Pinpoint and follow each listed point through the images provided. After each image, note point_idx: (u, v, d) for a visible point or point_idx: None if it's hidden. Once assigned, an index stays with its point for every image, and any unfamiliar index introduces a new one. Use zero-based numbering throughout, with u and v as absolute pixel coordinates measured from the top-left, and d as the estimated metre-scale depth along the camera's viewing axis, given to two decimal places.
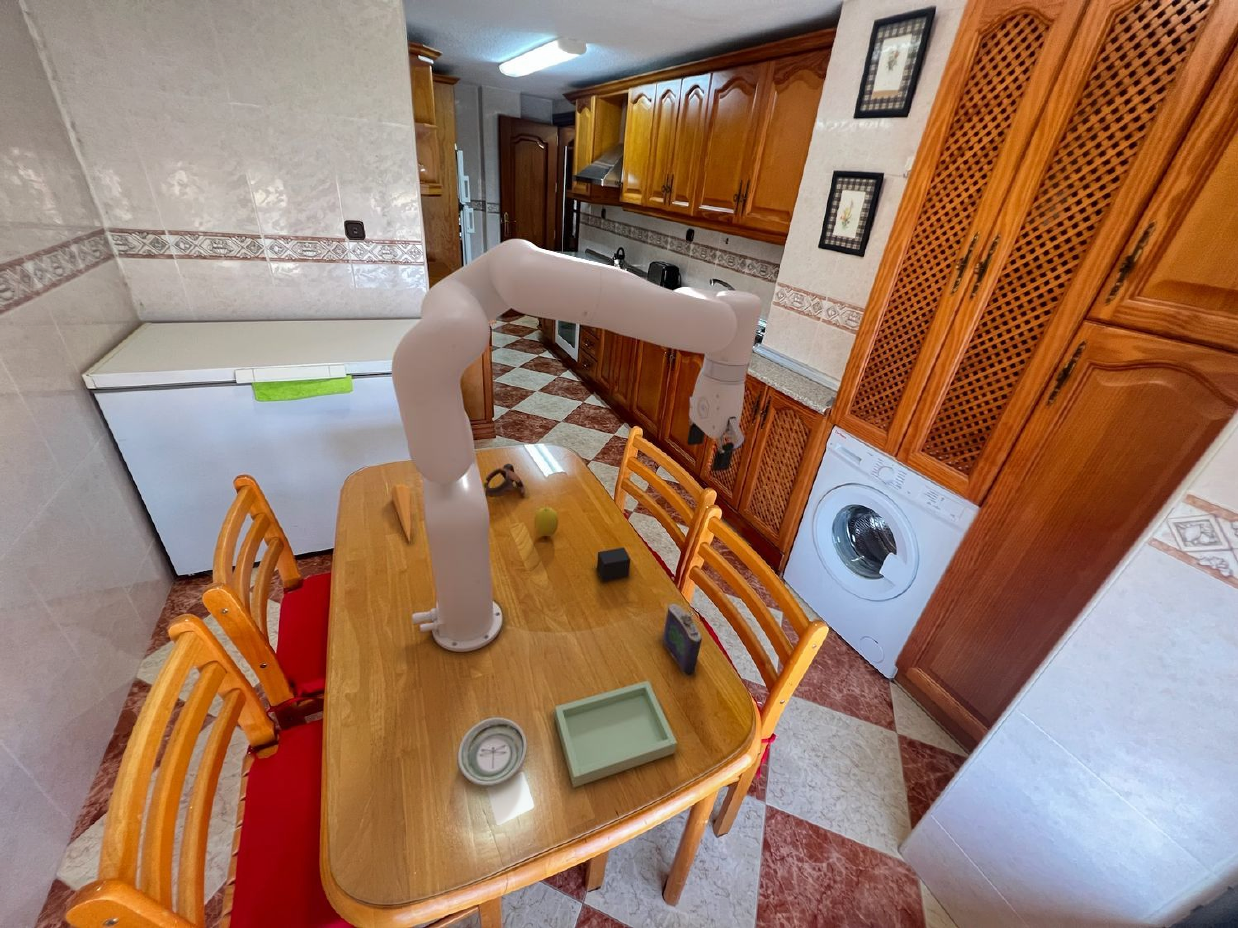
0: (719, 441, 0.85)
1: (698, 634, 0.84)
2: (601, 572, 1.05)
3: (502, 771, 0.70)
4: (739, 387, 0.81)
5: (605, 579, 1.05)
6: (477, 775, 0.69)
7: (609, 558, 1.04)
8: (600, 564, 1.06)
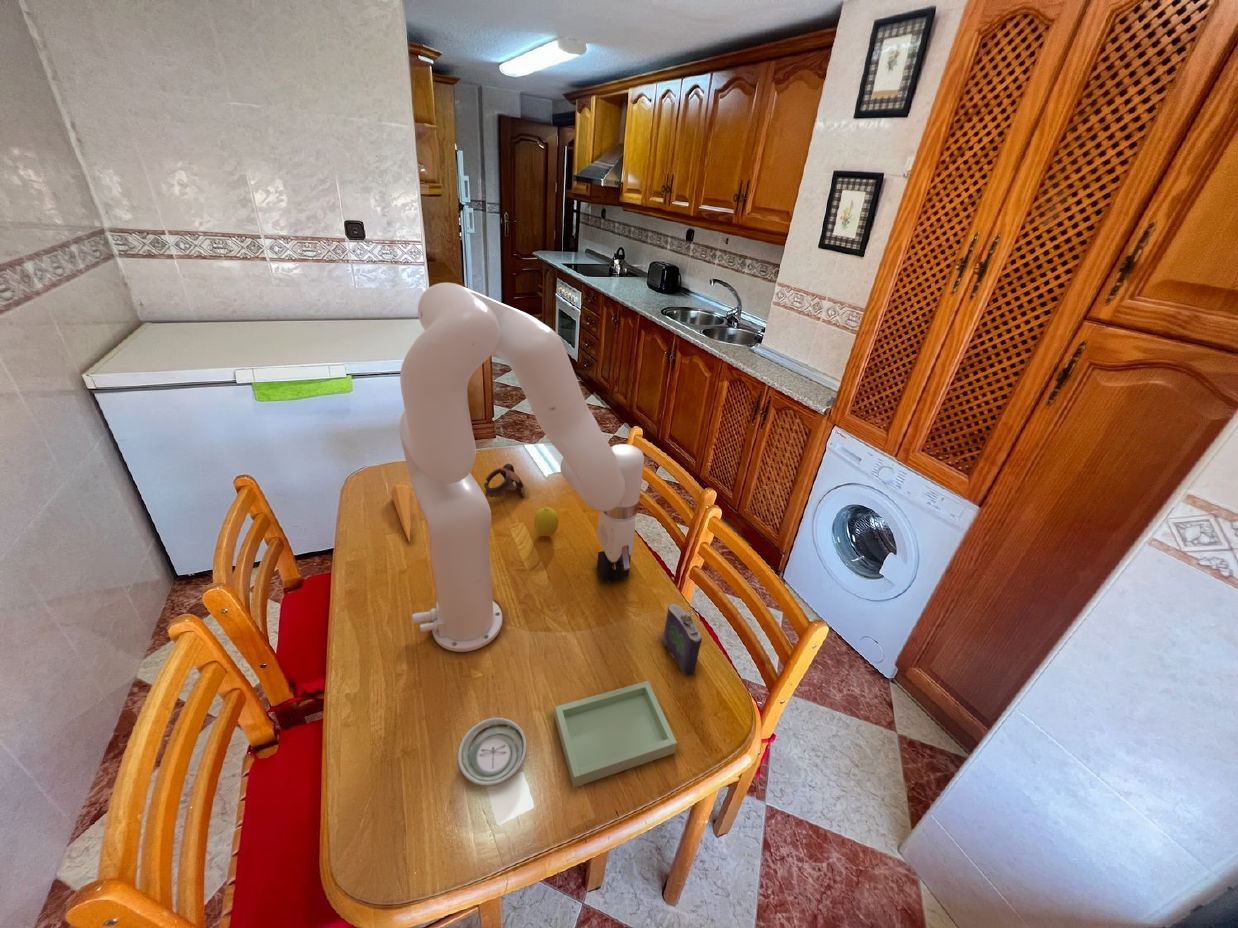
0: (613, 561, 1.02)
1: (698, 634, 0.84)
2: (601, 572, 1.05)
3: (502, 771, 0.70)
4: (629, 523, 0.96)
5: (605, 579, 1.05)
6: (477, 775, 0.69)
7: None
8: (600, 564, 1.06)
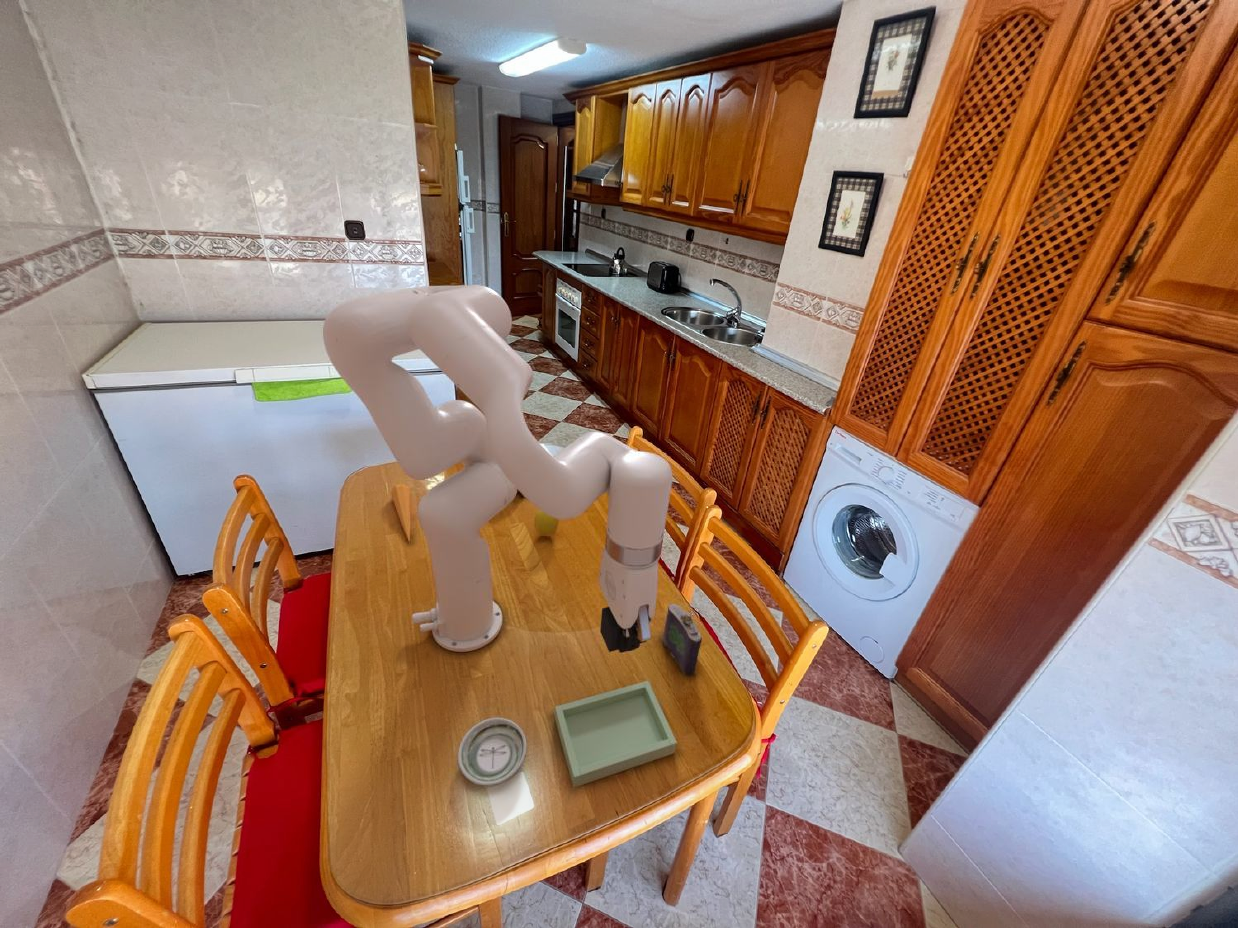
0: None
1: (698, 634, 0.84)
2: (607, 638, 0.72)
3: (502, 771, 0.70)
4: (650, 572, 0.63)
5: (613, 648, 0.72)
6: (477, 775, 0.69)
7: None
8: (605, 626, 0.72)
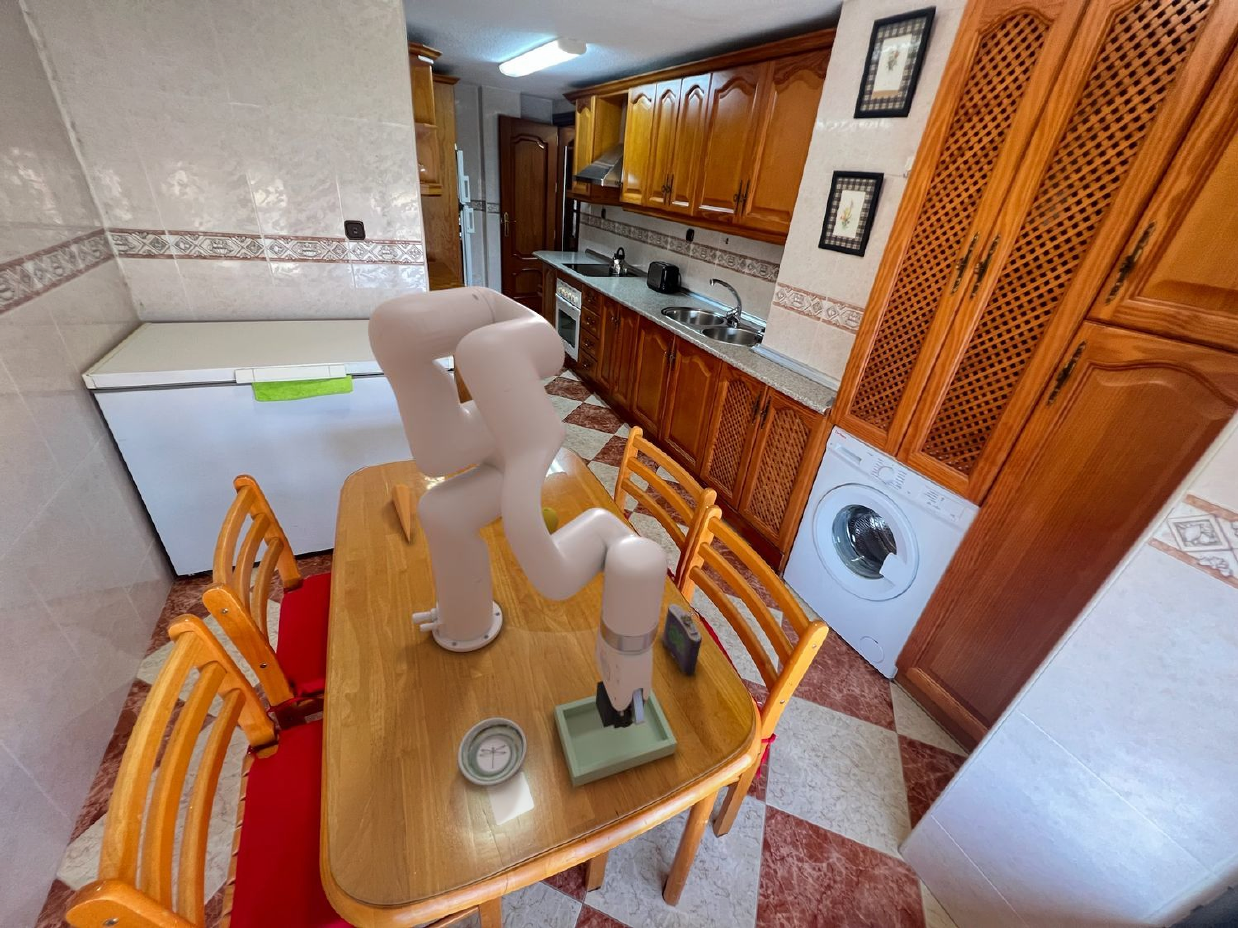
0: None
1: (698, 634, 0.84)
2: (602, 714, 0.71)
3: (502, 771, 0.70)
4: (644, 658, 0.62)
5: (608, 724, 0.71)
6: (477, 775, 0.69)
7: None
8: (600, 701, 0.71)
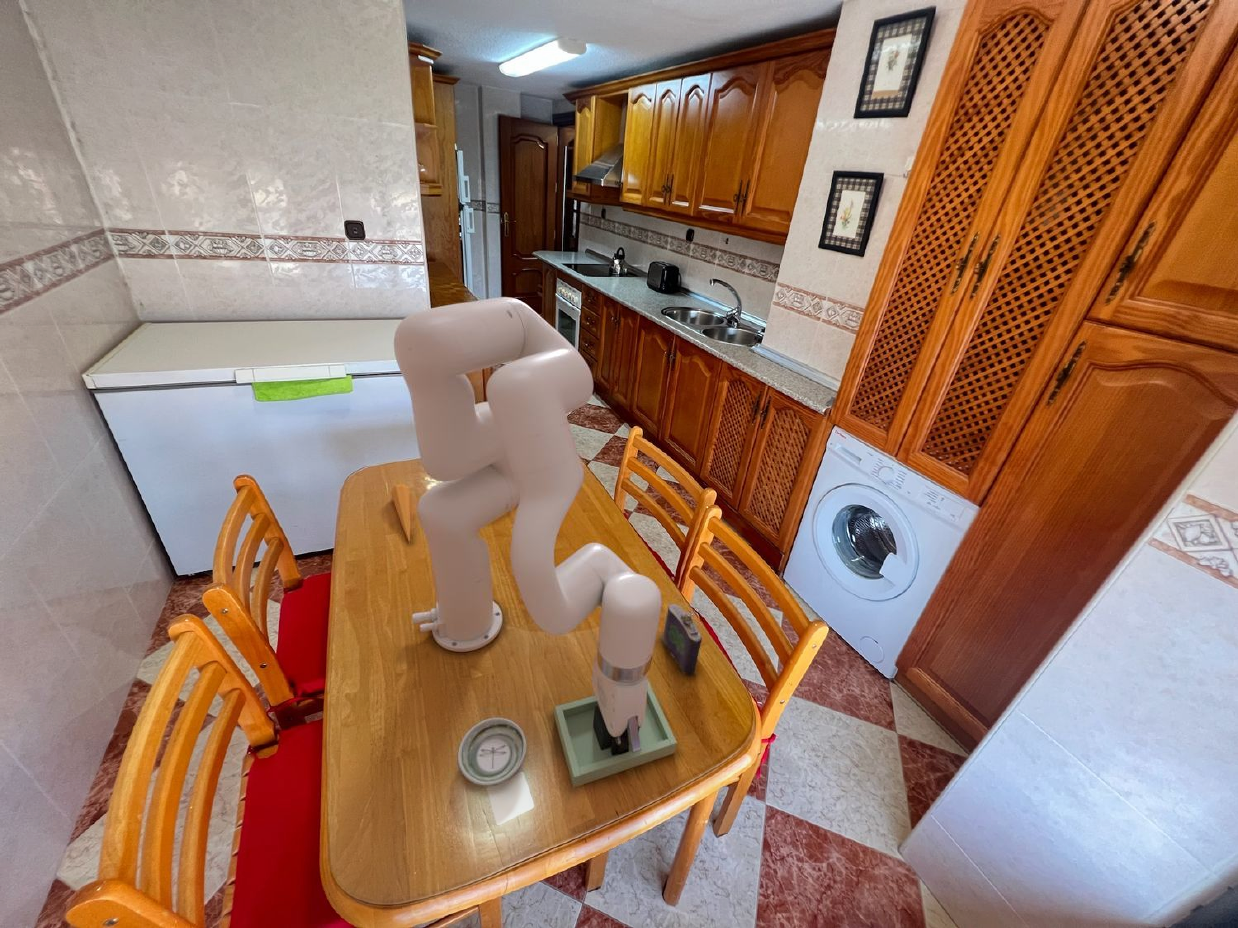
0: None
1: (698, 634, 0.84)
2: (599, 737, 0.74)
3: (502, 771, 0.70)
4: (639, 688, 0.65)
5: (605, 747, 0.74)
6: (477, 775, 0.69)
7: None
8: (597, 725, 0.74)
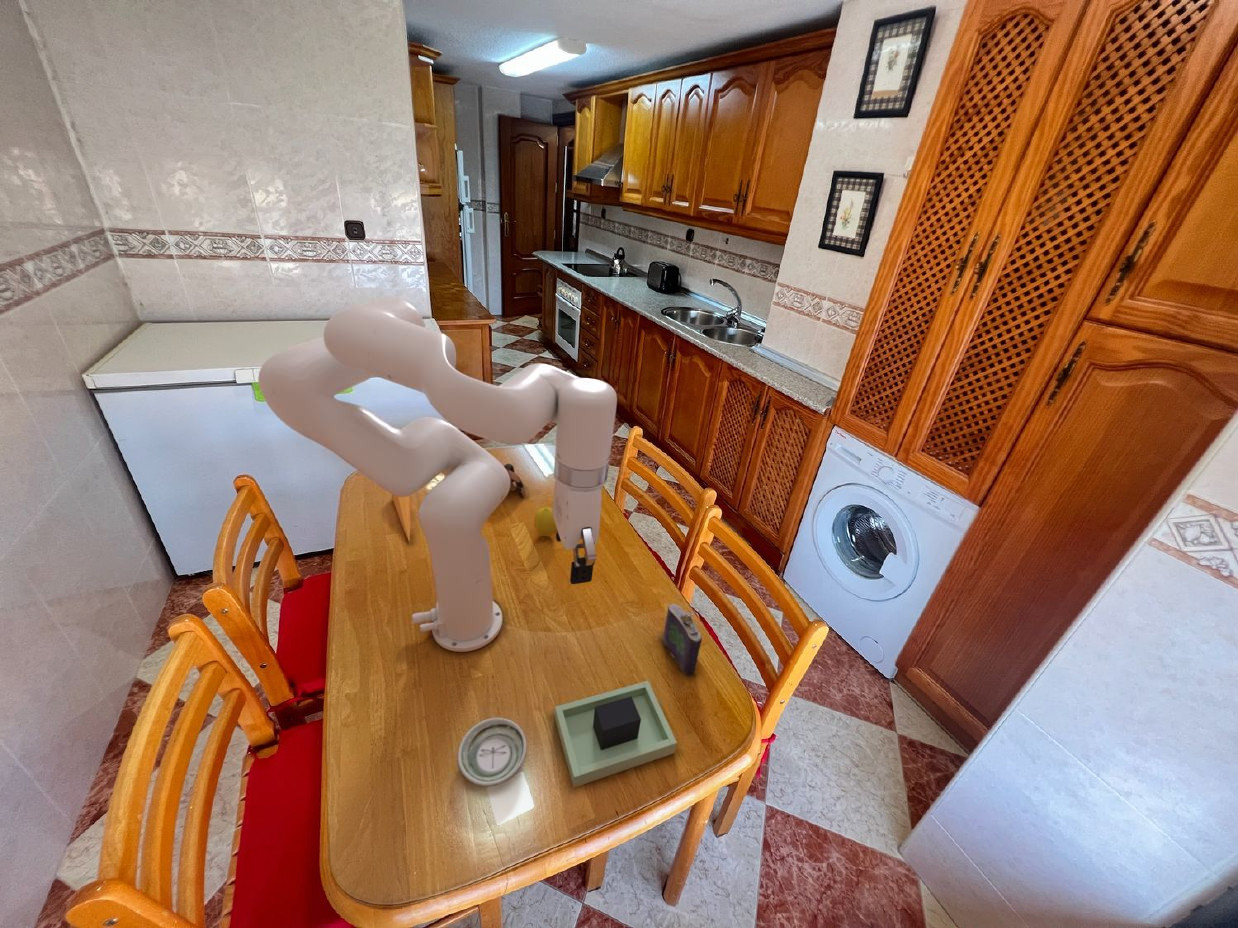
0: (574, 552, 0.70)
1: (698, 634, 0.84)
2: (599, 737, 0.74)
3: (502, 771, 0.70)
4: (592, 494, 0.66)
5: (605, 747, 0.74)
6: (477, 775, 0.69)
7: (610, 719, 0.73)
8: (597, 725, 0.74)
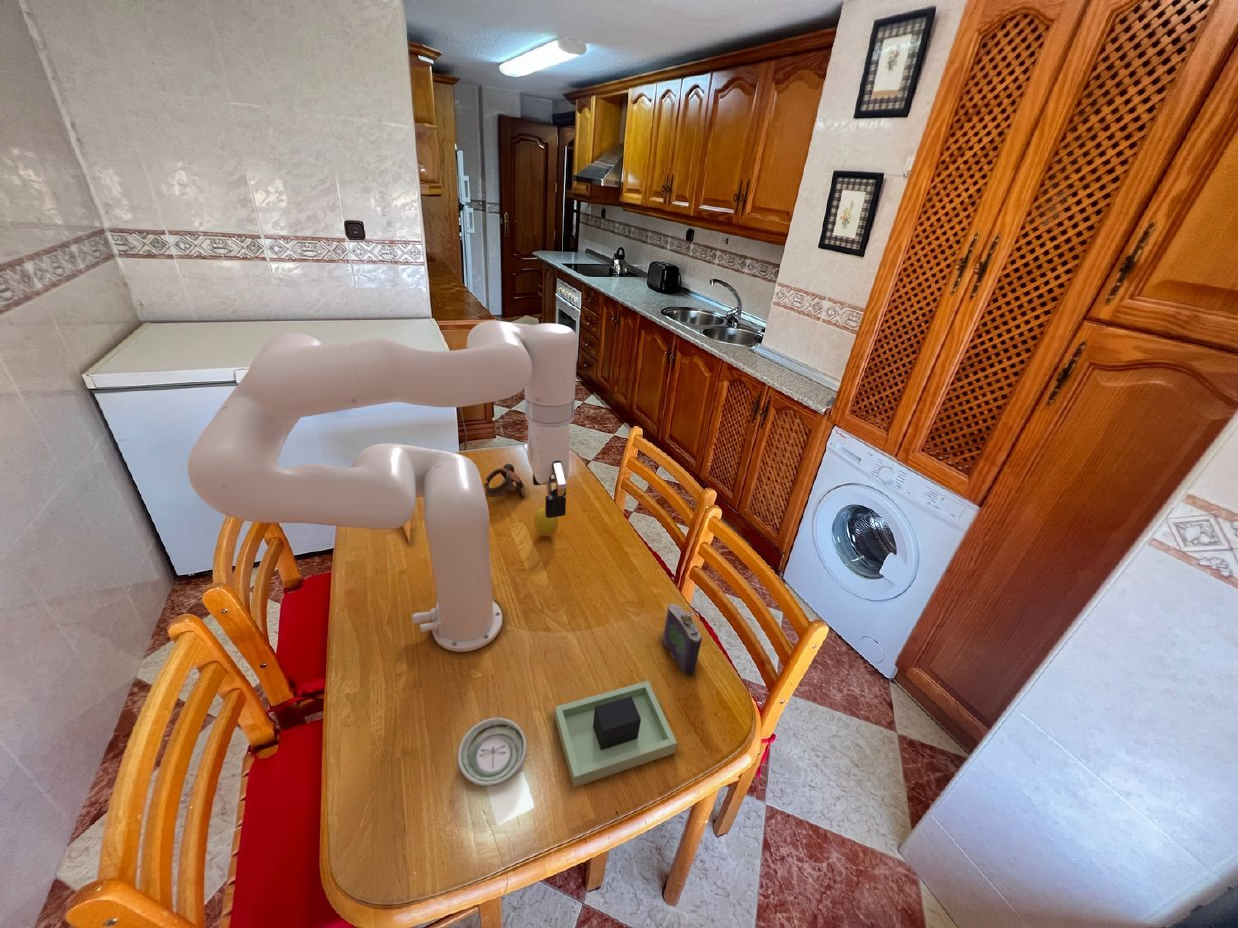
0: (547, 486, 0.77)
1: (698, 634, 0.84)
2: (599, 737, 0.74)
3: (502, 771, 0.70)
4: (560, 429, 0.73)
5: (605, 747, 0.74)
6: (477, 775, 0.69)
7: (610, 719, 0.73)
8: (597, 725, 0.74)
